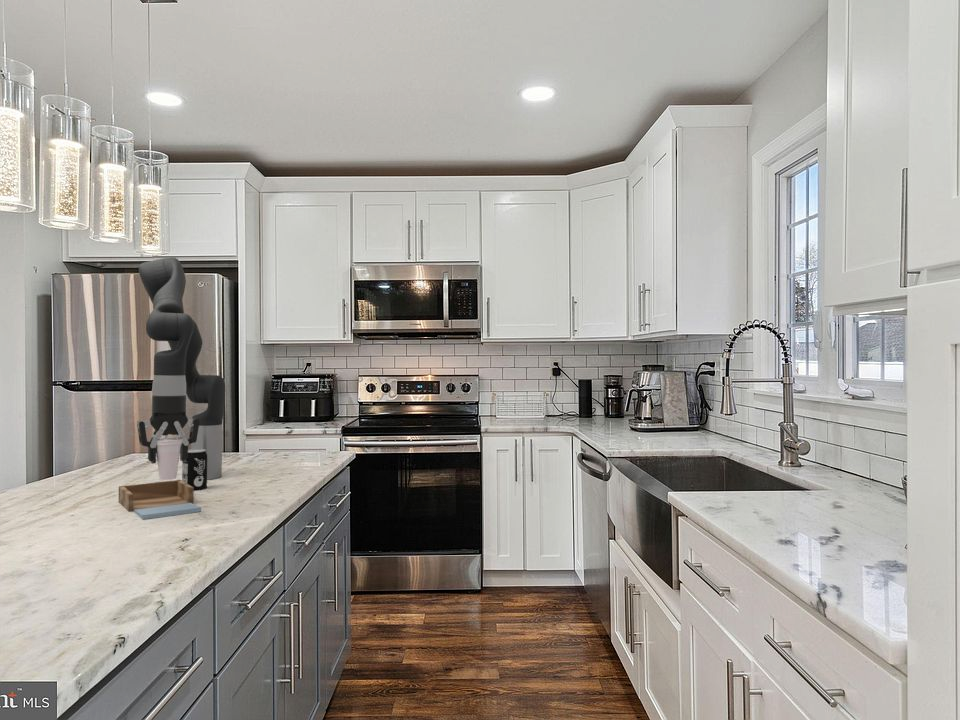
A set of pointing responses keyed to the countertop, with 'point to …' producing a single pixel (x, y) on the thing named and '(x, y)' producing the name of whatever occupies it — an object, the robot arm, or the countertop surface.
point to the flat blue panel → (167, 510)
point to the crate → (155, 494)
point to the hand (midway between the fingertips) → (168, 461)
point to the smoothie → (168, 457)
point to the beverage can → (195, 469)
